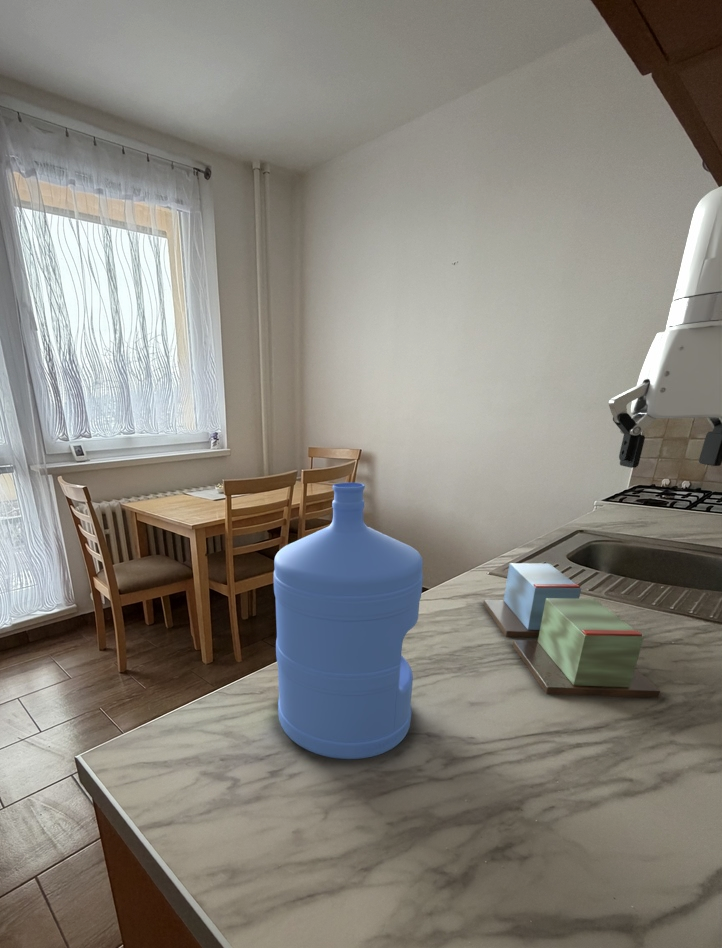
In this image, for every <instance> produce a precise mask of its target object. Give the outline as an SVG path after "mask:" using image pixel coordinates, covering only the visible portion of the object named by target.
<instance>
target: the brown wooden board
mask: <svg viewBox="0 0 722 948" xmlns="http://www.w3.org/2000/svg"><path fill="white" fill-rule="evenodd" d="M512 648H513V649H514V650H515V652H516V654H517V655H518V656H519V658H520V659H521V660H522V662H523V663H524V665H525V666H526V668H527V669H528V670H529V672H530V673H531V674H532V676H533V677H534V679H535V680H536V682H537V683H538V684H539V686H540V687H541V689H542V690H543V692H544V693H545V694H546V695H564V696H565V695H566V696H567V695H568V696H569V695H570V696H595V697H622V698H647V699H648V698H649V699H651V698H654V699H659V697H660V694H661V690H660V689H659V688H658V687H657V686H656V685H654V684H653V682H651V681H650V680H649V679H648V678H647V677H646V676H645V675H644V674H643V673H641V672H640V671H639V670H638V669H637V668H635V670H634V674H633V677H632V681H631V684H630V687H605V686H575V685H573V684H572V683H571V681H570V680H569V679H568V678H567V677H566V675H565V674H564V673H563V672H562V671H561V669H560V668H559V667H558V666H557V665H556V663H555V662H554V661H553V660H552V658H551V657H550V656H549V655H548V654H547V652H546V651H545V650H544V649H543V648H542V646H541V645H540V644H539V643H538V640H530V639H529V640H526V639H523V640H522V639H513V640H512Z"/></svg>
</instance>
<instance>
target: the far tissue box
mask: <svg viewBox="0 0 722 948" xmlns="http://www.w3.org/2000/svg"><path fill="white" fill-rule="evenodd" d="M505 583H506V584H505V590H504V596H503V600H504V601H505V603H506V604H507V605H508V606H509V608H510V609H511V610H512V611H513V612H514V614H515V615H516V616H517V617H518V618H519V620H520V621H521V622H522V623H523V625H524V626H525V627H526V628H527V629H528V630H540V627H541V622H542V616H543V611H544V606H545V601H546V598H569V599H580V596H581V593H582V587H581V586H580V585H579V584H577V583H575V582H574V581H573V580H571V579H570V578H569V577H567V576H566V575H565V574H563V573H562V572H561V571H560V570H558V569H557V568H556V567H554V566H553V565H552V564H551V563H547V562H546V563H545V562H544V563H543V562H542V563H535V562H534V563H532V562H530V563H529V562H528V563H526V562H525V563H524V562H521V563H517V562H514V563H512V562H510V563H508V571H507V577H506V582H505Z"/></svg>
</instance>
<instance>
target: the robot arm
mask: <svg viewBox="0 0 722 948" xmlns="http://www.w3.org/2000/svg"><path fill="white" fill-rule="evenodd" d="M629 403H631V404H630V405H631V406H630V413H628V411H627V410H628V408H627V407H628V406H627V405H628V404H629ZM608 407H609V410H610V413H611V416H612V421H613V423H614V424H615V425H616V426H617V427H618V429H619V431H620V433H621V434H622V435H623V436H622V442H621V446H620V450H619V453H618V454H619V455H618V460H619V466H621V467H625V468H631V469H633V468H634V469H635V468H637V467H638V466H639V464H640V461H641V456H642V453H643V448H644V444H645V439H646V437H645V435H643V434H642V433H643V431H645V430H646V429H647V428H648V427H649V426H650V425H651V424H652V423H653V422H655V420H657V419H660V420H663V419H664V420H668V419H669V420H670V419H701V418H703V419H704V418H705V419H706V420H707V421H708V423H709V424H710V427H711V428H712V431H707V433H706V434H705V437H704V441H703V445H702V448H701V451H700V455H699V459H698V463H699V464H701V465H707V466H711V467H721V465H722V185H721V186H719V187H717V188H715V189H713V190H711V191H708V193H707V194H705V195H703V197H702V198H701V199H700V200H699V201H698V203H697V205H696V207H695V208H694V212H693V213H692V218H691V223H690V227H689V231H688V234H687V238H686V243H685V248H684V252H683V255H682V259H681V264H680V269H679V274H678V277H677V281H676V285H675V289H674V293H673V297H672V302H671V306H670V309H669V314H668V319H667V322H666V326H665V330H664V331H660V332H657V333H656V335H655V337H654V339H653V341H652V343H651V346H650V348H649V350H648V352H647V355H646V357H645V360H644V362H643V365H642V368H641V370H640V373H639V376H638V380H637V383H636V386H634V387H632V388H630V389H628V390H626V391H623V392H622V393H620V394H617V395H616V396H614V397H611V398H610V399H609V400H608ZM630 414H631V415H632V416H631V415H630Z"/></svg>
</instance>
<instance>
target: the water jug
mask: <svg viewBox="0 0 722 948" xmlns="http://www.w3.org/2000/svg"><path fill="white" fill-rule="evenodd" d="M365 489H366V484H364V483H362V482H338V483H333V485H332V491H333V500H332V504H331V506H332V521H331V523H330V524H329V525H328V526H326V527H324V528H322V529H320V530H317V531H315V532H313V533H310V534H308V535H306V536H304V537H301V538H299V539H297V540H295V541H293V542H291V543H288V544H286V545H284V546H283V547H282V548H280V549H279V551H277V553H276V554H275V556H274V560H273V564H274V570H273V593H274V597H275V621H276V622H275V623H276V640H275V655H276V656H275V658H276V662H277V675H278V701H277V709H278V720H279V724H280V726H281V728H282V730H283V731H284V733H285V734H286V736H287V737H288V738H289V739H290V740H291V741H292V742H293V743H295V744H297V745H298V746H299V747H301V748H303V749H304V750H305V751H308V752H310V753H313V754H316V755H319V756H323V757H326V758H331V759H332V758H333V759H339V760H340V759H341V760H359V759H367V758H372V757H377V756H379V755H382V754H384V753H387V752H389V751H390V750H392V749H394V748H396V747H397V746H398V745H399V744H400V743H401V742H402V741H404V739H405V737H406V735H407V734H408V732H409V731H410V730H409V729H410V726H411V719H412V695H413V694H412V693H413V692H412V691H413V681H414V675H413V670H412V667H411V665H410V663H409V662H408V660H407V659H406V658H405V657H404V656H403V655H402V653H403V652H402V651H403V643H404V639H405V638H406V636H407V634H408V632H409V631H410V630H412V629H413V628H414V627H415V626H416V625H417V623H418V620H419V611H420V601H421V599H422V593H423V582H424V572H423V566H424V562H423V557H422V555H421V554H420V552H419V551H418V550H417V549H415V548H414V547H412V546H411V545H409V544H407V543H404V542H402V541H400V540H398V539H396V538H394V537H391V536H390V535H387V534H385V533H383V532H381V531H378V530H376V529H374V528H372V527H370V526H368V525H366V523H365V521H364V508H365V500H364V490H365Z"/></svg>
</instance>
